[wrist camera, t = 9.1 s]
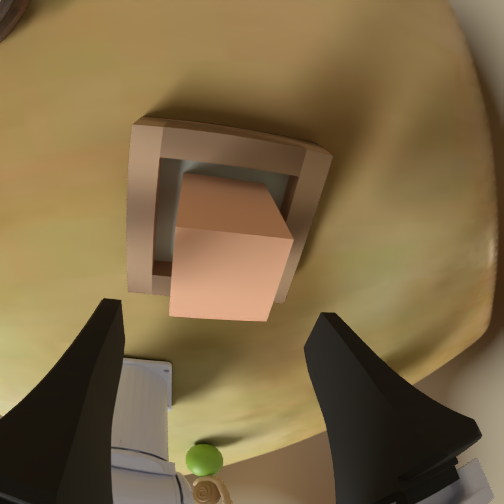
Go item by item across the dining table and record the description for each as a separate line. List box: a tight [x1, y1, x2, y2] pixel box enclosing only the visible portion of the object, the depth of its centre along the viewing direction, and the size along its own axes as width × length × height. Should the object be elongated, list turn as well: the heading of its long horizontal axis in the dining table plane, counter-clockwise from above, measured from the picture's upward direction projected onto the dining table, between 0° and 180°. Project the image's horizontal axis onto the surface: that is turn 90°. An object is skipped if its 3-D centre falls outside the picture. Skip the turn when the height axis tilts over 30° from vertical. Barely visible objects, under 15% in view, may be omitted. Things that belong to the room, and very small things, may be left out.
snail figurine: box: [186, 444, 233, 504], centre depth 33 cm, size 5×6×12 cm
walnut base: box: [127, 117, 333, 303], centre depth 17 cm, size 10×10×2 cm
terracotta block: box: [169, 173, 294, 321], centre depth 15 cm, size 4×4×6 cm
